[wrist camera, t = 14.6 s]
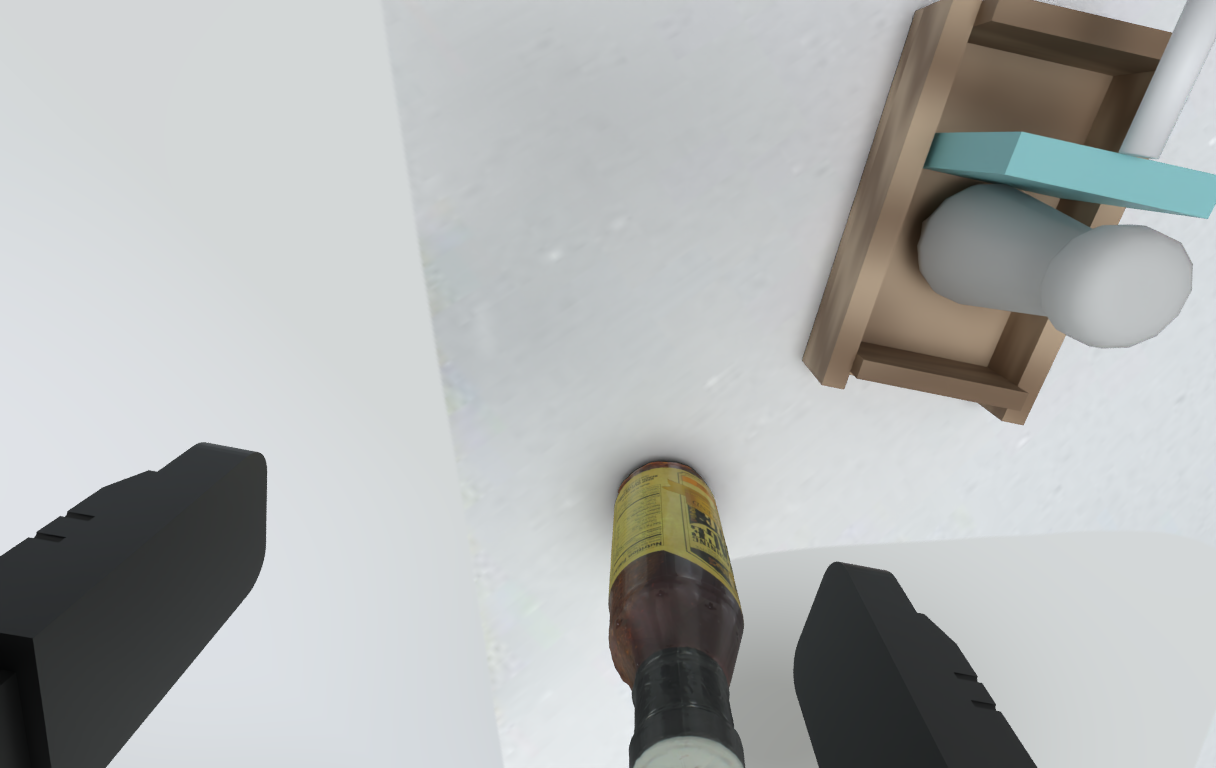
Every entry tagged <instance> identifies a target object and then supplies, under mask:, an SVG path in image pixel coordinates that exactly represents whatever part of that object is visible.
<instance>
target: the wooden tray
mask: <svg viewBox="0 0 1216 768" xmlns="http://www.w3.org/2000/svg"><path fill="white" fill-rule="evenodd" d="M1171 35H1172V33H1171V32H1167V31H1162V30H1158V29H1154V28H1150V27H1145V26H1141V25H1137V24H1132V23H1128V22H1124V21H1120V20H1115V19H1111V18H1107V17H1102V16H1098V15H1094V14H1090V13H1085V12H1081V11H1077V10H1072V9H1068V8H1064V7H1060V6H1055V5H1051V4H1047V3H1042V2H1038V1H1034V0H940V1H938V2H936V3H933V4H931V5H929V6H926V7H924V8H922V9H919V10H917V11H915V14H914V17H913V21H912V24H911V27H910V30H909V33H908V36H907V39H906V42H905V45H904V48H903V51H902V54H901V57H900V61H899V64H898V67H897V70H896V73H895V76H894V79H893V82H892V85H891V88H890V91H889V94H888V97H887V101H886V104H885V107H884V110H883V113H882V116H881V119H880V122H879V125H878V128H877V131H876V134H875V138H874V141H873V144H872V147H871V150H870V153H869V156H868V159H867V162H866V165H865V168H864V171H863V174H862V178H861V181H860V184H859V187H858V190H857V193H856V196H855V199H854V202H853V205H852V208H851V211H850V214H849V218H848V221H847V224H846V227H845V230H844V233H843V236H842V239H841V242H840V245H839V248H838V251H837V254H836V258H835V261H834V264H833V267H832V270H831V273H830V276H829V279H828V282H827V285H826V288H825V291H824V294H823V298H822V301H821V304H820V307H819V310H818V313H817V316H816V319H815V322H814V325H813V328H812V331H811V334H810V338H809V341H808V344H807V347H806V350H805V353H804V356H803V359H802V361H803V362H804V363H805V365H806V366H807V367H808V368H809V370H810V371H811V372H812V373H813V375H814V376H815V377H816V378H817V380H818V381H819V382H820V383H821V385H824V386H829V387H834V388H839V389H844V388H845V385H846V383H847V380H848V377H849V375H854V376H855V377H856V378H857V379H862V380H867V381H872V382H877V383H882V384H887V385H892V386H897V387H902V388H907V389H912V390H917V391H922V392H927V393H932V394H937V395H942V396H947V397H952V398H957V399H962V400H967V401H972V402H977V403H979V404H980V405H981V406H982V407H984V408H985V409H986V410H988V411H989V412H990V413H992V414H993V415H994V416H996V417H997V418H998V419H1000V420H1001V421H1005V422H1010V423H1015V424H1020V425H1024V423H1025V421H1026V419H1027V417H1028V414H1029V412H1030V410H1031V408H1032V406H1033V404H1034V402H1035V400H1036V397H1037V395H1038V393H1039V391H1040V389H1041V387H1042V385H1043V383H1044V380H1045V378H1046V376H1047V374H1048V372H1049V370H1050V368H1051V366H1052V363H1053V361H1054V359H1055V357H1056V355H1057V353H1058V351H1059V349H1060V346H1061V344H1062V342H1063V340H1064V338H1065V336H1066V335H1065V334H1063V333H1062V332H1060V331H1058V330H1056V329H1055V327H1054V326H1053V325H1052V323H1051V322H1050V320H1049V318H1048V317H1047V316H1040V315H1033V314H1026V313H1019V312H1012V311H1005V310H998V309H991V308H984V307H977V306H970V305H963V304H958V303H956V302H954V301H952V300H950V299H948V298H945V297H943V296H941V295H939V294H937V293H936V292H935V291H934V290H933V289H932V288H931V287H930V285H929V284H928V282H927V281H926V279H925V278H924V276H923V275H922V274H921V272H920V271H919V263H918V250H917V245H918V242H919V239H920V236H921V229H922V222H923V221H924V220H926V219H927V218H928V217H930V215H931V214H932V213H933V212H934V211H935V210H936V209H937V208H938V207H939V206H940V205H941V203H942V202H943V201H944V200H945V199H946V198H948V197H950V196H952V195H954V194H956V193H958V192H960V191H962V190H964V189H966V188H968V187H970V186H972V185H978V184H992V183H988V182H983V181H978V180H974V179H969V178H965V177H960V176H955V175H951V174H946V173H942V172H937V171H933V170H928V169H923V166H924V163H925V160H926V157H927V155H928V152H929V149H930V146H931V143H932V141H933V138H934V135H935V133H956V132H1026V133H1030V134H1035V135H1039V136H1044V137H1048V138H1053V139H1057V140H1062V141H1066V142H1071V143H1075V144H1080V145H1084V146H1089V147H1093V148H1098V149H1102V150H1107V151H1111V152H1116V153H1119V150H1120V148H1121V146H1122V143H1123V141H1124V139H1125V137H1126V135H1127V132H1128V130H1129V128H1130V126H1131V124H1132V121H1133V119H1134V117H1135V115H1136V113H1137V110H1138V108H1139V106H1140V104H1141V102H1142V99H1143V97H1144V95H1145V93H1146V90H1147V88H1148V86H1149V84H1150V82H1151V79H1152V77H1153V75H1154V73H1155V71H1156V68H1157V66H1158V64H1159V62H1160V60H1161V57H1162V55H1163V53H1164V51H1165V49H1166V46H1167V44H1168V42H1169V40H1170V38H1171ZM1120 154H1121V153H1120ZM1134 157H1135V156H1134ZM1138 158H1141V157H1138ZM1143 159H1147V160H1149V158H1143ZM1017 190H1019V191H1022V192H1024V193H1026V194H1028V195H1030V196H1032V197H1034V198H1036V199H1037V200H1039V201H1041V202H1043V203H1045V204H1047V205H1049V206H1051V207H1053V208H1054V209H1056V210H1058V211H1060V212H1062V213H1064V214H1066V215H1068V216H1069V217H1071V218H1073V219H1075V220H1077V221H1079V222H1081V223H1083V224H1085V225H1086V226H1088V227H1090V228H1092V229H1094V228H1096V227H1099V226H1102V225H1118V223H1119V221H1120V219H1121V217H1122V215H1123V213H1124V210H1125V208H1126V207H1119V206H1112V205H1105V204H1098V203H1091V202H1084V201H1077V200H1069V199H1062V198H1056V197H1052V196H1047V195H1043V194H1038V193H1033V192H1029V191H1024V190H1020V189H1017Z"/></svg>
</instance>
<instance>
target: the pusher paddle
mask: <svg viewBox="0 0 1216 768" xmlns="http://www.w3.org/2000/svg"><path fill="white" fill-rule="evenodd" d="M1215 39H1216V0H1187V2H1186V4H1185V7H1184V9H1183V11H1182V13H1181V16H1180V18H1179V20H1178V22H1177V24H1176V27H1175V29H1174V31H1173V33H1172V35H1171V38H1170V40H1169V42H1168V44H1167V46H1166V49H1165V51H1164V53H1163V55H1162V57H1161V60H1160V62H1159V64H1158V66H1157V68H1156V71H1155V73H1154V75H1153V77H1152V79H1151V82H1150V84H1149V86H1148V88H1147V90H1146V93H1145V95H1144V97H1143V99H1142V102H1141V104H1140V106H1139V108H1138V110H1137V113H1136V115H1135V117H1134V119H1133V121H1132V124H1131V126H1130V128H1129V130H1128V132H1127V135H1126V137H1125V139H1124V141H1123V143H1122V146H1121V148H1120V150H1119V153H1116V152H1111V151H1107V150H1102V149H1098V148H1093V147H1089V146H1084V145H1080V144H1075V143H1071V142H1066V141H1062V140H1057V139H1053V138H1048V137H1044V136H1039V135H1035V134H1030V133H1026V132H956V133H935V135H934V138H933V141H932V143H931V146H930V149H929V152H928V155H927V157H926V160H925V163H924V166H923V169H928V170H933V171H937V172H942V173H946V174H951V175H955V176H960V177H965V178H969V179H974V180H978V181H983V182H988V183H992V184H1007V185H1009V186H1011V187H1013V188H1015V189H1020V190H1024V191H1029V192H1033V193H1038V194H1043V195H1047V196H1052V197H1056V198H1062V199H1069V200H1077V201H1084V202H1091V203H1098V204H1105V205H1112V206H1119V207H1127V208H1134V209H1141V210H1148V211H1155V212H1162V213H1169V214H1177V215H1184V216H1191V217H1198V218H1205V219H1208V218H1209V216H1210V214H1211V212H1212V210H1213V208H1214V206H1215V204H1216V175H1214V174H1210V173H1205V172H1201V171H1197V170H1192V169H1188V168H1183V167H1179V166H1174V165H1170V164H1165V163H1161V162H1156V161H1152V160H1147V159H1143V158H1150V159H1159V157H1160V155H1161V153H1162V151H1163V149H1164V147H1165V145H1166V142H1167V140H1168V138H1169V136H1170V134H1171V132H1172V130H1173V128H1174V126H1175V124H1176V121H1177V119H1178V117H1179V115H1180V113H1181V111H1182V109H1183V107H1184V105H1185V103H1186V100H1187V98H1188V96H1189V94H1190V92H1191V90H1192V88H1193V86H1194V84H1195V82H1196V79H1197V77H1198V75H1199V73H1200V71H1201V69H1202V67H1203V65H1204V63H1205V61H1206V58H1207V56H1208V54H1209V52H1210V50H1211V48H1212V46H1213V44H1214V42H1215ZM1120 153H1121V154H1120ZM1134 156H1135V157H1134ZM1138 157H1141V158H1138Z"/></svg>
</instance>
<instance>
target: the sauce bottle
mask: <svg viewBox="0 0 1216 768" xmlns="http://www.w3.org/2000/svg"><path fill="white" fill-rule="evenodd" d="M618 493H619V494H618V497H617V500H616V503H615V507H614V521H613V536H612V550H611V569H610V583H609V603H608V605H609V612H610V626H609V648H610V651H611V655H612V660H613V662H614V666H615V668H616V670H617V672H618V673H619V675H620V676H621V679H622V680H623V681H624V682H625V683H627V684H628V685H629V686H630V688H631V690H632V700H633V704H634V707H635V730H634V735H633V737H632V739H631V742H630V745H629V768H745V763H744V753H743V747H742V743H741V739H740V737H739V735H738V733H737V731H736V730H735V729H734V723H733V718H732V713H731V709H730V703H729V686H730V683H731V679H732V675H733V671H734V667H735V663H736V659H737V655H738V651H739V647H740V643H741V639H742V634H743V629H744V620H743V614H742V610H741V605H740V601H739V597H738V593H737V589H736V585H735V581H734V576H733V571H732V567H731V564H730V559H729V555H728V551H727V546H726V543H725V539H724V535H723V530H722V526H721V522H720V518H719V514H718V510H717V506H716V502H715V499H714V497H713V494H712V492H711V491H710V489H709V487H708V486H707V485H706V484H705V482H704V480H703V479H702V478H701V477H700V476H699V475H698V473H696V472H695V471H694V470H693V469H691V468H690V467H689V466H686V465H683V464H680V463H675V462H660V461H657V462H651V463H648V464H646V465H644V466H642V467H641V468H639V469H637V470H636V471H634V472H633V473H632V474H630V475H629V477H628V478H627V479H625V480H624V481H623V483H622V484H621V486H620V488H619V490H618Z"/></svg>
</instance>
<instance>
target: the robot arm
mask: <svg viewBox="0 0 1216 768" xmlns="http://www.w3.org/2000/svg"><path fill="white" fill-rule="evenodd" d="M266 502H267V465H266V460H265V458H264V456H263V455H262V454H261V453H259V452H254V451H249V450H243V449H238V448H233V447H227V446H221V445H216V444H211V443H206V442H203V443H198V444H196V445H194V446H193V447H191V448H190V449H188V450H187V451H186V452H184V453H183V454H182V455H180V456H179V457H177V458H176V459H175V460H173V461H172V462H170V463H169V464H168V465H166V466H165V467H164V468H162V469H161V470H159V471H158V472H155V471H149V470H148V471H146V472H143V473H140V474H138V475H135V476H132V477H130V478H127V479H124V480H122V481H119V482H116V483H113V484H111V485H108V486H105V487H103V488H101V489H100V490H99V491H97V492H96V493H94V494H92V495H91V496H89V497H88V498H87V499H85V500H83V501H82V502H80V503H79V504H77V505H76V506H75V507H73V508H72V509H70V510H69V511H68V512H67V515H66V516H65V517H62V516H60V517H58V518H57V519H55V520H54V521H52V522H51V523H49V524H48V525H46V526H45V527H43V528H42V529H40V530H39V531H37V534H36V536H35V537H34V538H27V539H26V540H24V541H22V542H21V543H19V544H18V545H16V546H15V547H13V548H12V549H11V550H9V551H8V552H6V553H5V554H3V555H2V556H0V768H106V767H107V765H108V764H109V763H110V762H111V761H112V759H113V758H114V757H115V756H116V754H117V753H118V752H119V751H120V750H121V748H122V747H123V746H124V745H125V744H126V742H127V741H128V740H129V739H130V737H131V736H132V735H133V734H134V733H135V731H136V730H137V729H138V728H139V727H140V725H141V724H142V723H143V722H144V720H145V719H146V718H147V717H148V715H149V714H150V713H151V712H152V711H153V709H154V708H155V707H156V706H157V705H158V703H159V702H160V701H161V700H162V699H163V697H164V696H165V695H166V694H167V692H168V691H169V690H170V689H171V687H172V686H173V685H174V684H175V683H176V682H177V680H178V679H179V678H180V677H181V675H182V674H183V673H184V672H185V670H186V669H187V668H188V667H189V666H190V665H191V663H192V662H193V661H194V659H195V658H196V657H197V656H198V655H199V654H200V652H201V651H202V650H203V649H204V647H205V646H206V645H207V644H208V643H209V641H210V640H211V639H212V638H213V637H214V635H215V634H216V633H217V632H218V630H219V629H220V628H221V627H222V626H223V624H224V623H225V622H226V621H227V620H228V618H229V617H230V616H231V615H232V613H233V612H234V611H235V610H236V609H237V607H238V606H239V605H240V604H241V603H242V601H243V600H244V599H245V598H246V596H247V595H248V594H249V592H250V591H251V589H252V588H253V586H254V584H255V582H256V580H257V578H258V576H259V573H260V571H261V567H262V565H263V561H264V557H265V550H266V505H267V504H266ZM793 671H794V672H793V673H794V685H795V690H796V695H797V698H798V701H799V704H800V707H801V711H802V714H803V717H804V720H805V724H806V727H807V730H808V733H809V736H810V740H811V743H812V746H813V750H814V753H815V756H816V759H817V762H818V766H819V768H1037V766H1036V765H1035V763H1034V762H1033V760H1032V759H1031V757H1030V756H1029V754H1028V753H1027V751H1026V750H1025V748H1024V746H1023V745H1022V743H1021V742H1020V740H1019V739H1018V737H1017V736H1016V734H1015V733H1014V731H1013V730H1012V728H1011V727H1010V725H1009V724H1008V722H1007V720H1006V719H1005V717H1004V716H1003V715H1002V713H1001V712H999V711H996V709H995V706H996V704H995V702H994V701H993V699H992V698H991V696H990V695H989V693H988V692H987V690H986V688H985V687H984V685H983V684H982V683H979V682H977V675H976V673H975V672H974V670H973V669H972V667H971V666H970V664H969V663H968V661H967V660H966V658H965V656H964V655H963V653H962V652H961V650H960V649H959V647H958V646H957V644H956V643H955V642H954V641H953V640H951V639H950V638H949V637H948V636H947V635H946V634H945V633H944V632H943V631H942V630H941V629H940V628H939V627H938V626H936V625H935V624H934V623H933V622H932V621H931V620H930V619H929V618H928V617H927V616H925V615H924V614H921V613H917V612H916V610H915V609H914V607H913V605H912V604H911V602H910V601H909V599H908V598H907V596H906V594H905V592H904V591H903V589H902V588H901V586H900V585H899V583H898V582H897V579H896V578H895V577H894V575H893V574H892V573H890V572H888V571H886V570H880V569H875V568H870V567H864V566H858V565H853V564H848V563H843V562H834V563H832V564H831V565H830V566H829V567H828V568H827V570H826V572H825V574H824V576H823V579H822V582H821V584H820V587H819V589H818V592H817V594H816V597H815V600H814V602H813V605H812V607H811V610H810V613H809V615H808V618H807V621H806V623H805V626H804V628H803V631H802V634H801V636H800V639H799V641H798V644H797V647H796V651H795V657H794V669H793Z"/></svg>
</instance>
